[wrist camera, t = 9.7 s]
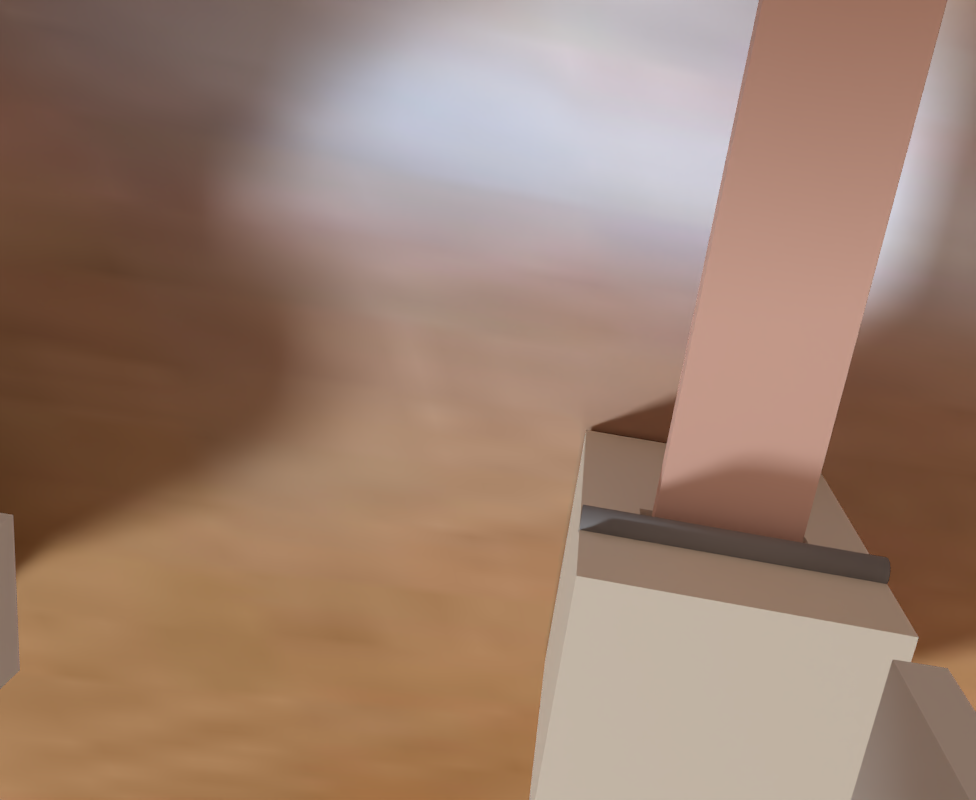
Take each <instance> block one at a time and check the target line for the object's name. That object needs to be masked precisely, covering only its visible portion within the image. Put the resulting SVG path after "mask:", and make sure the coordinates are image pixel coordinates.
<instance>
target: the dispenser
mask: <svg viewBox="0 0 976 800" xmlns="http://www.w3.org/2000/svg"><path fill="white" fill-rule="evenodd" d="M666 445H667V443H661V442H655V441H649V440H643V439H637V438H631V437H625V436H619V435H613V434H607V433H601V432H595V431H589V430H586V434H585V440H584V445H583V451H582V456H581V462H580V468H579V473H578V479H577V484H576V490H575V496H574V501H573V507H572V513H571V518H570V524H569V529H568V535H567V541H566V546H565V552H564V557H563V563H562V569H561V574H560V580H559V586H558V591H557V597H556V602H555V608H554V614H553V619H552V625H551V630H550V636H549V642H548V647H547V653H546V659H545V667H544V676H543V684H542V693H541V702H540V711H539V720H538V728H537V737H536V746H535V755H534V763H533V772H532V781H531V790H530V798H529V800H851V798H852V794H853V791H854V788H855V784H856V781H857V777H858V774H859V771H860V767H861V764H862V761H863V757H864V754H865V751H866V747H867V744H868V740H869V737H870V734H871V730H872V727H873V724H874V720H875V717H876V714H877V710H878V707H879V704H880V700H881V697H882V693H883V690H884V687H885V683H886V680H887V677H888V673H889V670H890V667H891V663H892V660H893V659H894V660H900V661H906V662H911V660H912V657H913V654H914V651H915V648H916V645H917V641H918V638H919V637H918V635H917V634H916V632H915V630H914V629H913V627H912V625H911V624H910V622H909V620H908V618H907V617H906V615H905V613H904V612H903V610H902V608H901V607H900V605H899V603H898V602H897V600H896V598H895V597H894V595H893V593H892V592H891V590H890V588H889V586H888V585H887V583H888V581H889V577H890V562H889V559H888V558H887V557H882V556H876V555H870V554H869V553H868V551H867V549H866V548H865V546H864V544H863V543H862V541H861V539H860V538H859V536H858V534H857V533H856V531H855V529H854V528H853V526H852V524H851V522H850V521H849V519H848V517H847V516H846V514H845V512H844V511H843V509H842V507H841V506H840V504H839V502H838V501H837V499H836V497H835V496H834V494H833V492H832V490H831V489H830V487H829V485H828V484H827V482H826V480H825V479H824V477H823V475H822V474H821V475H820V479H819V482H818V486H817V490H816V494H815V497H814V501H813V505H812V509H811V512H810V516H809V520H808V524H807V527H806V531H805V535H804V539H803V542H802V543H801V542H795V541H790V540H784V539H778V538H772V537H767V536H761V535H755V534H749V533H744V532H738V531H732V530H727V529H721V528H715V527H709V526H704V525H698V524H692V523H686V522H681V521H675V520H669V519H663V518H658V517H652V512H653V507H654V502H655V498H656V493H657V488H658V483H659V478H660V474H661V469H662V464H663V459H664V454H665V449H666Z"/></svg>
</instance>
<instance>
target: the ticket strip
mask: <svg viewBox="0 0 976 800" xmlns="http://www.w3.org/2000/svg"><path fill="white" fill-rule="evenodd" d="M946 3H947V0H759V3H758V8H757V12H756V17H755V22H754V27H753V32H752V36H751V41H750V46H749V51H748V56H747V60H746V65H745V70H744V75H743V80H742V84H741V89H740V94H739V99H738V104H737V108H736V113H735V118H734V123H733V128H732V132H731V137H730V142H729V147H728V152H727V156H726V161H725V166H724V171H723V176H722V180H721V185H720V190H719V195H718V200H717V205H716V209H715V214H714V219H713V224H712V229H711V233H710V238H709V243H708V248H707V253H706V257H705V262H704V267H703V272H702V277H701V281H700V286H699V291H698V296H697V301H696V305H695V310H694V315H693V320H692V325H691V329H690V334H689V339H688V344H687V349H686V353H685V358H684V363H683V368H682V373H681V377H680V382H679V387H678V392H677V397H676V401H675V406H674V411H673V416H672V421H671V425H670V430H669V435H668V440H667V445H666V449H665V454H664V459H663V464H662V469H661V474H660V478H659V483H658V488H657V493H656V498H655V502H654V507H653V512H652V517H658V518H663V519H669V520H675V521H681V522H686V523H692V524H698V525H704V526H709V527H715V528H721V529H727V530H732V531H738V532H744V533H749V534H755V535H761V536H767V537H772V538H778V539H784V540H790V541H795V542H801V543H802V542H803V539H804V535H805V531H806V527H807V524H808V520H809V516H810V512H811V509H812V505H813V501H814V497H815V494H816V490H817V486H818V482H819V479H820V475H821V471H822V468H823V464H824V460H825V456H826V453H827V449H828V445H829V441H830V438H831V434H832V430H833V426H834V423H835V419H836V415H837V411H838V408H839V404H840V400H841V396H842V393H843V389H844V385H845V381H846V378H847V374H848V370H849V366H850V363H851V359H852V355H853V351H854V348H855V344H856V340H857V336H858V333H859V329H860V325H861V321H862V318H863V314H864V310H865V306H866V303H867V299H868V295H869V291H870V288H871V284H872V280H873V276H874V273H875V269H876V265H877V261H878V258H879V254H880V250H881V247H882V243H883V239H884V235H885V232H886V228H887V224H888V220H889V217H890V213H891V209H892V205H893V202H894V198H895V194H896V190H897V187H898V183H899V179H900V175H901V172H902V168H903V164H904V160H905V157H906V153H907V149H908V145H909V142H910V138H911V134H912V130H913V127H914V123H915V119H916V115H917V112H918V108H919V104H920V100H921V97H922V93H923V89H924V85H925V82H926V78H927V74H928V70H929V67H930V63H931V59H932V55H933V52H934V48H935V44H936V40H937V37H938V33H939V29H940V26H941V22H942V18H943V14H944V11H945V7H946Z"/></svg>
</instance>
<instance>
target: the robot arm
mask: <svg viewBox="0 0 976 800" xmlns="http://www.w3.org/2000/svg"><path fill="white" fill-rule="evenodd" d="M19 670H20V665H19V641H18V616H17V592H16V567H15V543H14V518H13V515H11V514H5V513H0V689H1V688H2V687H3V686H4V685H5V684H6V683H7V682H8V681H9V680H10V679H11V678H12V677H13V676H14V675H15V674H16V673H17V672H18V671H19ZM851 800H976V712H975V710H974V709H973V707H972V706H971V704H970V703H969V701H968V700H967V698H966V696H965V695H964V693H963V692H962V690H961V689H960V687H959V685H958V684H957V682H956V681H955V679H954V678H953V676H952V674H951V673H950V671H949V670H948V668H942V667H936V666H930V665H924V664H918V663H912V662H906V661H900V660H894V659H893V660H892V663H891V667H890V670H889V673H888V677H887V680H886V683H885V687H884V690H883V693H882V697H881V700H880V704H879V707H878V710H877V714H876V717H875V720H874V724H873V727H872V730H871V734H870V737H869V740H868V744H867V747H866V751H865V754H864V757H863V761H862V764H861V767H860V771H859V774H858V777H857V781H856V784H855V788H854V791H853V794H852V798H851Z"/></svg>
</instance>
